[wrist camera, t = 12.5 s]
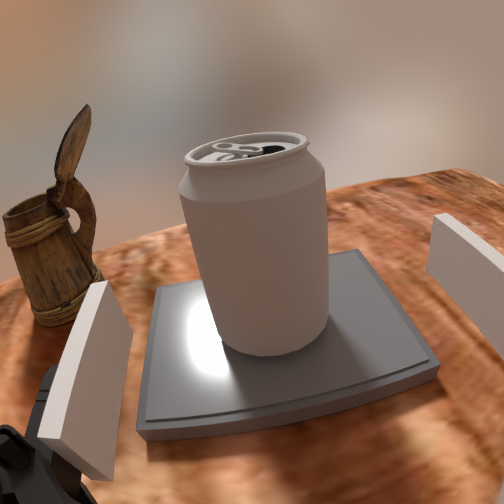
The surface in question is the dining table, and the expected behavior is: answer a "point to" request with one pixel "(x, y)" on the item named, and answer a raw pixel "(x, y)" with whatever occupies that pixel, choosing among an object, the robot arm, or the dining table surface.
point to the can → (260, 239)
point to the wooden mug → (57, 236)
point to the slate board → (277, 361)
